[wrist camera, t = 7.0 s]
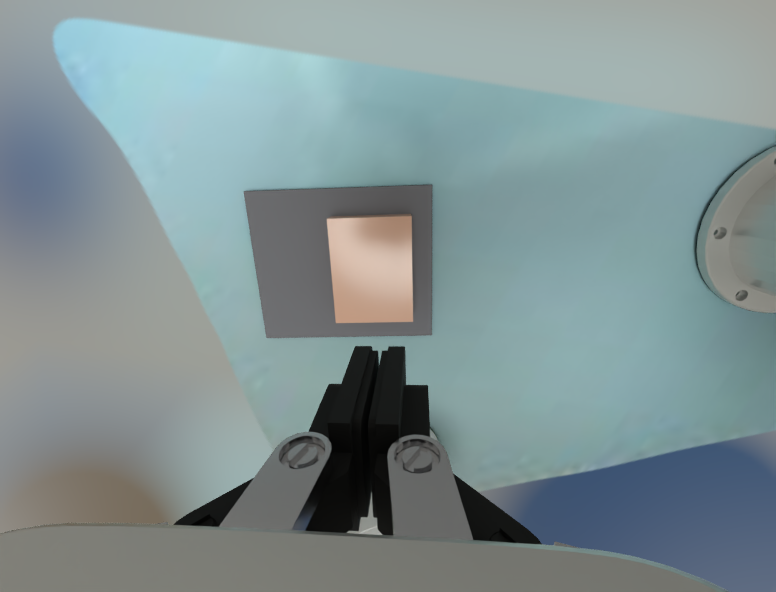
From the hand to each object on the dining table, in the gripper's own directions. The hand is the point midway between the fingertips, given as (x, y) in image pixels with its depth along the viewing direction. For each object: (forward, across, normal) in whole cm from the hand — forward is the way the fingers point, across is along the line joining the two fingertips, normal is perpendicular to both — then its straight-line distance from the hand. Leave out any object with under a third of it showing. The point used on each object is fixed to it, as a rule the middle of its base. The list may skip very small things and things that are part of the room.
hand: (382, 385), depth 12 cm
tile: (+16, +5, 0) cm, 17 cm away
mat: (+17, +5, 0) cm, 18 cm away
